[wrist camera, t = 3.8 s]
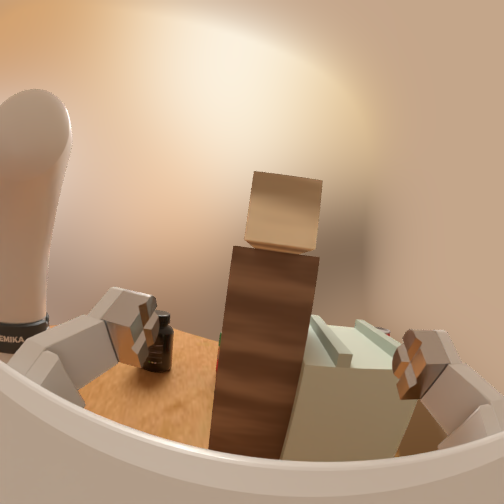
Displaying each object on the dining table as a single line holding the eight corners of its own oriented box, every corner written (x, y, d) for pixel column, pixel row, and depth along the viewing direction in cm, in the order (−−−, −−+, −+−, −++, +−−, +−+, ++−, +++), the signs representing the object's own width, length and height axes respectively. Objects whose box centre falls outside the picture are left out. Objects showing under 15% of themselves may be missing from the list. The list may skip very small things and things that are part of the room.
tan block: (315, 249, 14) (322, 180, 14) (244, 239, 14) (254, 171, 14) (287, 257, 38) (291, 231, 38) (261, 254, 38) (265, 228, 38)
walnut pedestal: (268, 495, 22) (319, 257, 23) (204, 485, 22) (233, 245, 23) (271, 425, 38) (300, 259, 38) (226, 419, 38) (249, 252, 39)
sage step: (369, 501, 19) (430, 356, 20) (268, 503, 20) (307, 350, 21) (341, 430, 37) (370, 320, 37) (271, 425, 38) (292, 312, 38)
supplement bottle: (144, 357, 57) (147, 306, 57) (173, 363, 58) (178, 312, 58) (135, 369, 50) (138, 312, 50) (168, 375, 51) (172, 319, 51)
